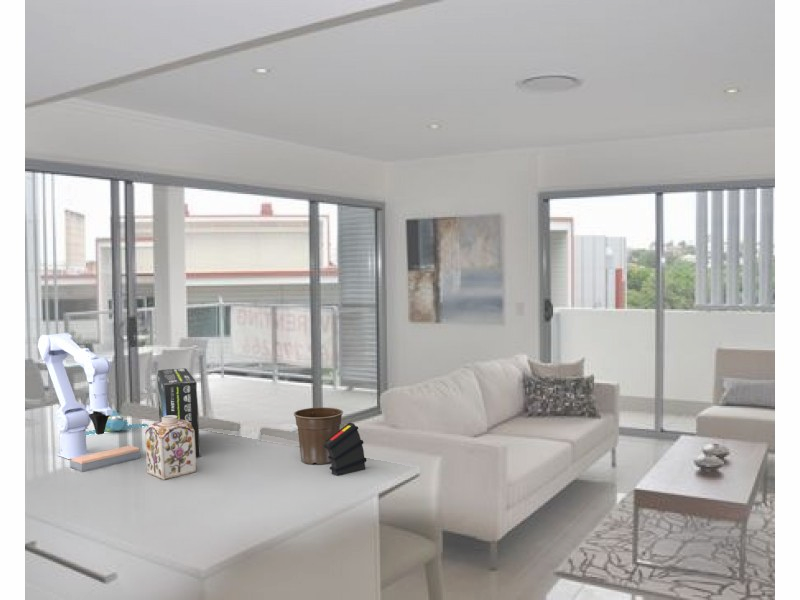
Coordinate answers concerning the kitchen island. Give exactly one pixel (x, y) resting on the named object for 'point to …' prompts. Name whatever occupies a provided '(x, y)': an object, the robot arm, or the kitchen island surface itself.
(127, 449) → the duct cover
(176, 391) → the router box
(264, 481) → the kitchen island surface
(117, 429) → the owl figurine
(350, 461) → the magazine
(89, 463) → the cable duct
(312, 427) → the plant pot
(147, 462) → the decorative jar
